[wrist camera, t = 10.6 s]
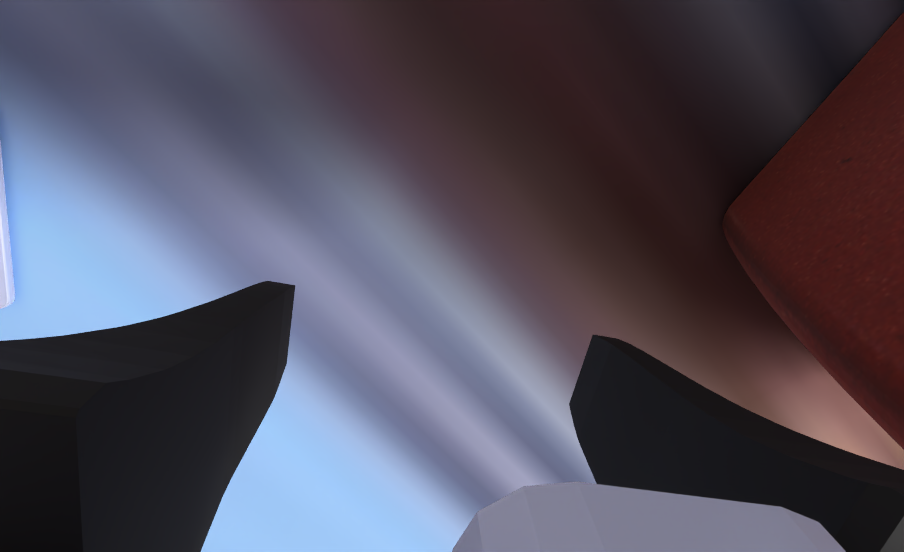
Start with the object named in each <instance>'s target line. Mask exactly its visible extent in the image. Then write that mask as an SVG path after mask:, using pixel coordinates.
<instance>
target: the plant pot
mask: <svg viewBox="0 0 904 552" xmlns="http://www.w3.org/2000/svg"><path fill="white" fill-rule="evenodd" d="M722 227H723V231H724V234H725V237H726V239H727V241H728V243H729V245H730V247H731V249H732V250H733V252H734V254H735V255H736V257H737V258H738V260H739V262H740V263H741V265H742V266H743V268H744V270H745V271H746V273H747V274H748V276H749V277H750V278H751V280H752V281H753V283H754V284H755V285H756V287H757V288H758V289H759V291H760V292H761V293H762V295H763V296H764V297H765V299H766V300H767V302H768V303H769V304H770V305H771V307H772V308H773V309H774V310H775V312H776V313H777V314H778V315H779V317H780V318H781V319H782V320H783V321H784V323H785V324H786V325H787V326H788V327H789V329H790V330H791V331H792V332H793V333H794V335H795V336H796V337H797V338H798V339H799V340H800V341H801V343H802V344H803V345H804V346H805V347H806V348H807V349H808V350H809V351H810V353H811V354H812V355H813V356H814V357H815V358H816V359H817V360H818V361H819V363H820V364H821V365H822V366H823V367H824V368H825V369H826V370H827V371H828V372H829V374H830V375H831V376H832V377H833V378H834V379H835V380H836V381H837V382H838V383H839V384H840V386H841V387H842V388H843V389H844V390H845V391H846V392H847V393H848V394H849V395H850V396H851V397H852V398H853V399H854V400H855V401H856V402H857V403H858V404H859V405H860V406H861V407H862V408H863V409H864V410H865V411H866V412H867V413H868V414H869V415H870V416H871V417H872V418H873V419H874V420H875V421H876V422H877V423H878V424H879V425H880V426H881V427H882V428H883V429H884V430H885V431H886V432H887V433H888V434H889V435H890V436H891V437H892V438H893V439H894V440H895V441H896V442H897V443H898V444H899V445H900V446H901V447H902V448H903V449H904V12H903V13H902V15H901V16H900V17H899V18H898V19H897V20H896V21H895V22H894V23H893V24H892V25H891V27H890V28H889V29H888V30H887V31H886V32H885V33H884V34H883V36H882V37H881V38H880V39H879V40H878V41H877V42H876V43H875V45H874V46H873V47H872V48H871V49H870V50H869V51H868V52H867V54H866V55H865V56H864V57H863V58H862V59H861V60H860V62H859V63H858V64H857V65H856V66H855V67H854V68H853V69H852V70H851V72H850V73H849V74H848V75H847V76H846V77H845V78H844V79H843V80H842V82H841V83H840V84H839V85H838V86H837V87H836V88H835V89H834V90H833V92H832V93H831V94H830V95H829V96H828V97H827V98H826V99H825V100H824V102H823V103H822V104H821V105H820V106H819V107H818V108H817V109H816V110H815V112H814V113H813V114H812V115H811V116H810V117H809V118H808V119H807V120H806V122H805V123H804V124H803V125H802V126H801V127H800V128H799V129H798V130H797V132H796V133H795V134H794V135H793V136H792V137H791V138H790V139H789V140H788V142H787V143H786V144H785V145H784V146H783V147H782V148H781V149H780V150H779V152H778V153H777V154H776V155H775V156H774V157H773V158H772V159H771V161H770V162H769V163H768V164H767V165H766V166H765V167H764V168H763V169H762V171H761V172H760V173H759V174H758V175H757V176H756V177H755V178H754V179H753V180H752V182H751V183H750V184H749V185H748V186H747V187H746V188H745V189H744V191H743V192H742V193H741V194H740V195H739V196H738V197H737V198H736V200H735V201H734V202H733V203H732V204H731V205H730V207H729V208H728V210H727V212H726V213H725V215H724V219H723V224H722Z"/></svg>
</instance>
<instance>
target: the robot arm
mask: <svg viewBox="0 0 904 552" xmlns="http://www.w3.org/2000/svg"><path fill="white" fill-rule="evenodd" d="M294 291H295V285H289V284H283V283H277V282H271V281H265V282H261V283H258V284H255V285H252V286H250V287H247V288H245V289H242V290H239V291H237V292H234V293H232V294H229V295H227V296H224V297H221V298H219V299H216V300H214V301H211V302H208V303H205V304H202V305H199V306H196V307H193V308H190V309H187V310H184V311H181V312H178V313H175V314H171V315H168V316H164V317H161V318H157V319H153V320H149V321H145V322H140V323H136V324H131V325H127V326H122V327H117V328H110V329H104V330H97V331H91V332H84V333H78V334H71V335H64V336H56V337H45V338H35V339H23V340H8V341H0V552H201V549H202V546H203V544H204V541H205V539H206V536H207V534H208V531H209V529H210V526H211V524H212V521H213V519H214V516H215V514H216V512H217V509H218V507H219V504H220V502H221V499H222V497H223V495H224V492H225V490H226V488H227V486H228V484H229V482H230V480H231V478H232V476H233V474H234V472H235V470H236V468H237V467H238V465H239V463H240V461H241V459H242V457H243V455H244V454H245V452H246V450H247V448H248V446H249V444H250V442H251V441H252V439H253V437H254V435H255V433H256V431H257V429H258V428H259V426H260V424H261V422H262V420H263V418H264V416H265V414H266V413H267V411H268V409H269V407H270V405H271V403H272V401H273V399H274V397H275V394H276V392H277V389H278V386H279V383H280V381H281V378H282V375H283V372H284V369H285V366H286V364H287V355H288V346H289V337H290V328H291V319H292V310H293V301H294ZM14 301H15V289H14V279H13V268H12V258H11V247H10V237H9V226H8V216H7V205H6V195H5V184H4V174H3V163H2V153H1V142H0V308H4V307H7V306H9V305H10V304H12V303H13V302H14ZM569 406H570V410H571V414H572V419H573V423H574V427H575V430H576V434H577V437H578V440H579V443H580V445H581V448H582V450H583V453H584V455H585V457H586V460H587V462H588V465H589V467H590V469H591V471H592V474H593V476H594V478H595V481H596V483H597V484H592V483H584V482H567V483H556V484H546V485H535V486H524V487H522V488H520V489H518V490H516V491H514V492H513V493H511V494H509V495H507V496H505V497H504V498H502V499H500V500H498V501H496V502H494V503H493V504H491V505H489V506H487V507H485V508H483V509H482V510H480V511H478V512H477V513H476V515H475V516H474V518H473V519H472V521H471V522H470V524H469V525H468V527H467V528H466V530H465V531H464V533H463V534H462V536H461V537H460V539H459V540H458V542H457V543H456V545H455V546H454V548H453V551H452V552H904V470H902V469H899V468H896V467H893V466H890V465H887V464H883V463H880V462H877V461H874V460H871V459H868V458H865V457H862V456H859V455H856V454H853V453H850V452H848V451H845V450H842V449H839V448H836V447H834V446H831V445H828V444H826V443H823V442H821V441H818V440H816V439H813V438H811V437H808V436H805V435H803V434H800V433H798V432H795V431H793V430H791V429H788V428H786V427H784V426H781V425H779V424H777V423H775V422H772V421H770V420H768V419H766V418H764V417H762V416H760V415H757V414H755V413H753V412H751V411H749V410H747V409H745V408H743V407H741V406H739V405H737V404H735V403H733V402H731V401H729V400H727V399H725V398H724V397H722V396H720V395H718V394H716V393H714V392H713V391H711V390H709V389H707V388H705V387H703V386H702V385H700V384H698V383H696V382H695V381H693V380H691V379H690V378H688V377H686V376H684V375H683V374H681V373H679V372H678V371H676V370H674V369H673V368H671V367H669V366H668V365H666V364H664V363H663V362H661V361H659V360H657V359H656V358H654V357H652V356H651V355H649V354H647V353H645V352H644V351H642V350H640V349H638V348H636V347H634V346H633V345H631V344H629V343H626V342H624V341H622V340H619V339H616V338H610V337H604V336H598V335H593V336H592V339H591V342H590V345H589V348H588V351H587V354H586V356H585V359H584V362H583V365H582V368H581V371H580V374H579V377H578V380H577V383H576V386H575V389H574V392H573V395H572V398H571V400H570V403H569Z"/></svg>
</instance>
